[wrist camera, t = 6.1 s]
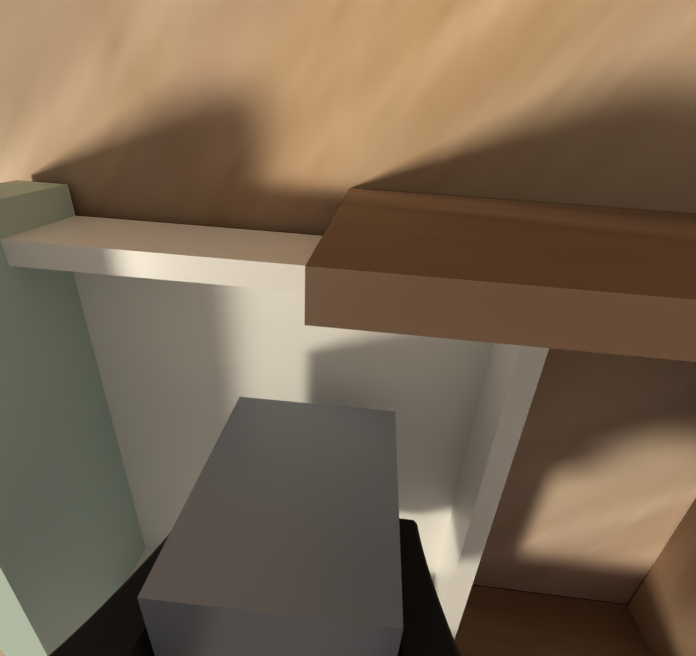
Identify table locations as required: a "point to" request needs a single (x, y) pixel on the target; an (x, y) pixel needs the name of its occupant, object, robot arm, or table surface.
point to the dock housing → (536, 331)
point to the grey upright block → (285, 540)
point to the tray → (203, 399)
